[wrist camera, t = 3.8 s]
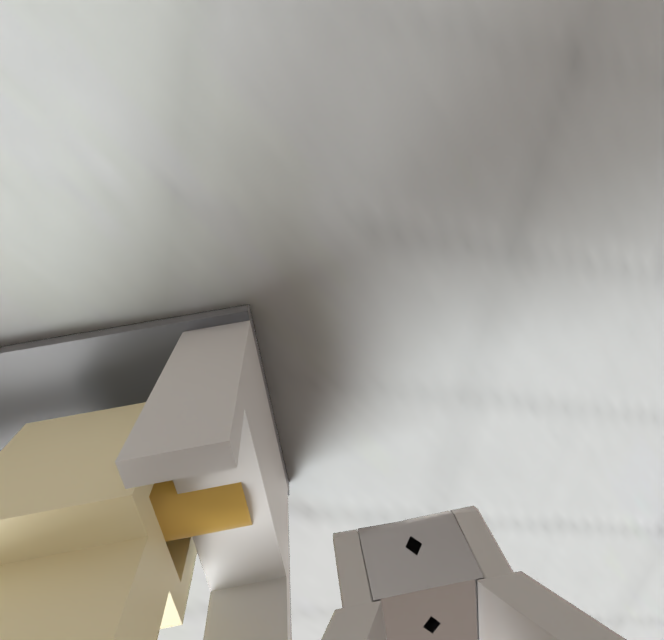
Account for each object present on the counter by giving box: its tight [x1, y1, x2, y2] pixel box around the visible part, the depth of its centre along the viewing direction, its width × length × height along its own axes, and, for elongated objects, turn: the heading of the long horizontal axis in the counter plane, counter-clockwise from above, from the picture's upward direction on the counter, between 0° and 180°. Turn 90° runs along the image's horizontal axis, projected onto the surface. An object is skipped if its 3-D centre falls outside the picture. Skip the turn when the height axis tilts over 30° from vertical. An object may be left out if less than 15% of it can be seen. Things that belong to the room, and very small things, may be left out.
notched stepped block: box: [0, 402, 197, 640], centre depth 10 cm, size 4×4×7 cm
